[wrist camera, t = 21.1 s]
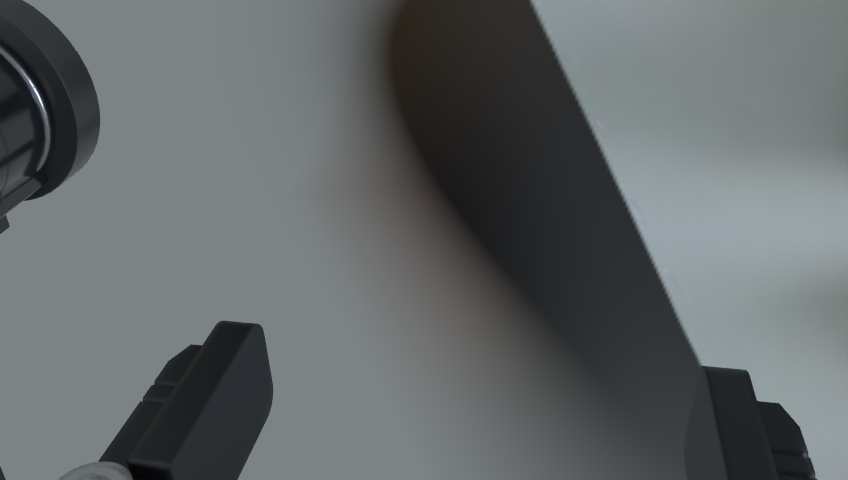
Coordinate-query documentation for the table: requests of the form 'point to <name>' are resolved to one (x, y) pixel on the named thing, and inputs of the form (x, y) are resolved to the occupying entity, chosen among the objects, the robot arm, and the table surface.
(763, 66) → the table surface
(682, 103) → the table surface
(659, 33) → the table surface
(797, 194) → the table surface
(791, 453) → the robot arm
